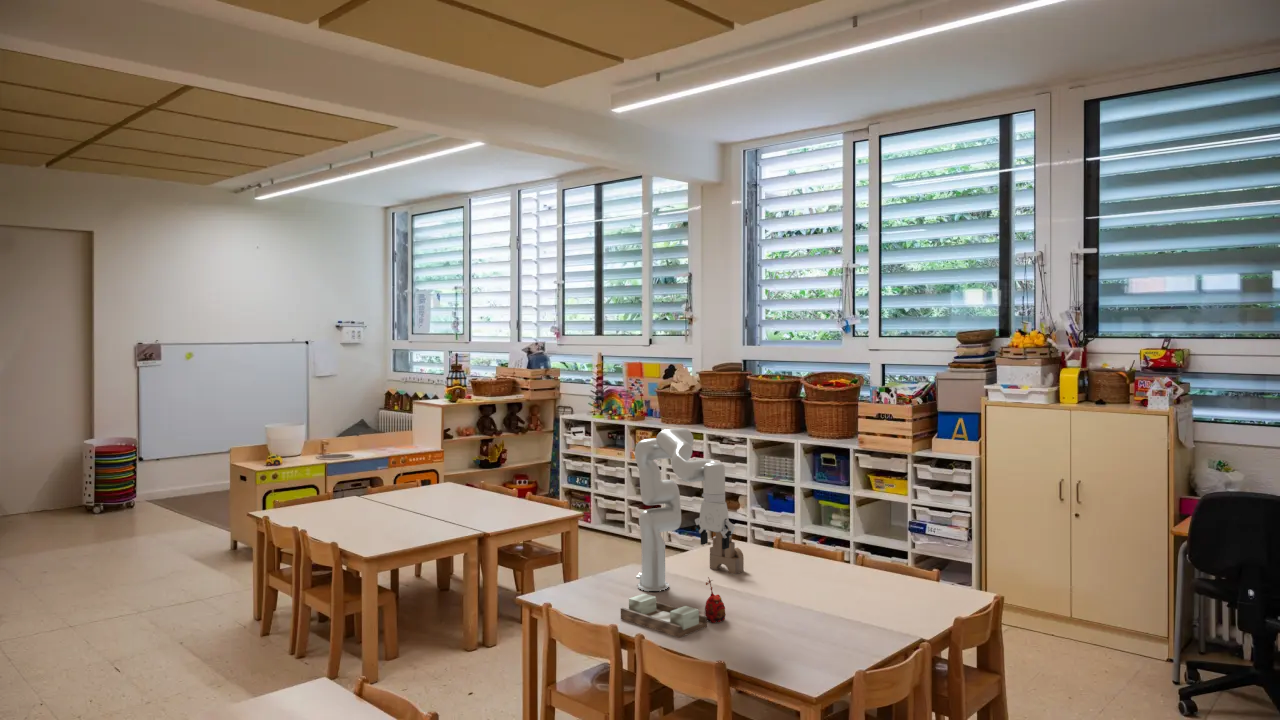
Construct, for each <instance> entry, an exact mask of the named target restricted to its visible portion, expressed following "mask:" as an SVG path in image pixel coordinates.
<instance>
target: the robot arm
mask: <svg viewBox="0 0 1280 720" xmlns="http://www.w3.org/2000/svg"><path fill="white" fill-rule="evenodd" d="M693 445H694V435H693V433H692V432H691V431H690V430H689V429H688V428H684V427H682V428H681V427H679V428H678V427H677V428H667V429H663V430H661V431H660V432H658V434H657V435H656V438H655V437H653V438H647V439H646V438H645V439H642V440H640V441H638V442H637V443H636V445H635V448H634V457H635V462H636V464H637V468H638V473H639V474H638V475H639V488H640V498H641V502H642V503H643V504H644V505H645V506H658V505H664V506H665V507H657V508H654V507H653V508H648V509H645V510H644V511H642V512H640V514H639V516H638V525H639V530H640V538H641V572H639V573H637V575H636V576H635V579H636V580H639V583H638V584H637V588H638V589H639V590H640V589H641V590H640V591H643V590H644V591H643V592H649V591H659V592H661V591H660V590H664V591H666V590H665V589H667V588H668V587H669V588H670V583H669V582H667V581H666V543H665V539H664V538H663V537H662V536H661V533H664V532H671V531H675V530H678V529H679V528H680V527H681V524H682V510H681V509H682V507H681V496H680V489H679V486H678V484H677V483H676V482H675V481H674V480H673V479H662V476H661V469H660V467H659V465H658V464H657V462H656V461H657V460H667V459H669V460H670V462H671V463H670V464H671V469H672V471H673V473H674V474H675V475H676V477H678V478H679V479H681V480H682V481H684V482H686V483H693V482H694V483H695V482H703V492H702V494H701V497H703V500H702V501H701V504H700V511H699V517H697V518H695V519H694V522H695V525H696V529H697V530H698V533H699V534H700V545H702V546H703V545H707V544H708V543H709V542H708V541H709V540H708V537H709V536H708V532H714V533H716V532H721V534H722V535H723V537H724V538H722V549H727V548H729V537H731V535H732V536H733V534H734V531H735V529H736V526H735V524H733V523H732V522H731V521H730V520H729V511H728V504H727V502H726V467H725V465H724V463H722V462H717V461H715V460H713V459H710V458H709V459H707V458H706V459H695V460H690V459H691V458H692V455H693ZM728 527H729V531H728ZM707 531H708V532H707ZM724 531H725V532H724ZM669 588H668V589H669ZM668 589H667V590H668Z"/></svg>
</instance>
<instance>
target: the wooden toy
mask: <svg viewBox="0 0 1280 720" xmlns="http://www.w3.org/2000/svg"><path fill="white" fill-rule="evenodd" d="M728 531H729V527H728ZM724 532H725V531H724ZM722 538H724V537H723V535H722V534H721V532H715V536H713V537H712V546H711V547H709V569H711V570H716V571H717V570H720V569H722V568H721V567H722V565H724V566H725V567H726V569H727V570H728V574H732V575H737V574H740V573H742V572H744V565H745V564H744V562H745V561H744V560H745V559H744V553H743V551H742V550H741V549H740V548H739V547H736V545H735V543H736V542H734V541H733V534H732V535H731V537H729V548H727V549H722Z"/></svg>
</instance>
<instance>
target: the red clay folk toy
mask: <svg viewBox="0 0 1280 720" xmlns="http://www.w3.org/2000/svg"><path fill="white" fill-rule="evenodd" d="M707 579H708V581H707V582H705V586H708V585H710V591H711V594H710V596H709V597H707V599H706V602H705V607H704V614H705V615H704V616H707V622H709V623H712V624H717V623H721V622H724V621H725V620H726V606H725V602H723V599H722V597H721V595H720V594H714V592H713V587H712V583H711V582H712V581H713V582H714V579H712V580H711V579H710V577H707Z"/></svg>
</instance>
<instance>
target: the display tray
mask: <svg viewBox="0 0 1280 720" xmlns="http://www.w3.org/2000/svg"><path fill="white" fill-rule="evenodd" d="M620 619H623V620H626V621H629V622H631V623H635V624H637V625H640V626H643V627H647V628H649V629H652V630H656V631H658V632H661V633H664V634H666V635H667V634H668V635H670V636H673V637H677V638H682V637H684V636H687V635H690V634H693V633H694V632H697V631H700V630H702V629H705V628H706V627H708V620H707V616H706V615H703V614H701V613H700V610H699V609H698V608H695V607H692V606H688V605H684V606H681V607H678V606H677V607H676V606H673V605H669V604H666V603H663V602H660V601H657V596H655V595H651V594H647V593H641V594H639V595H635V596H632V597H629V598H628V608H625V607H621V608H620Z"/></svg>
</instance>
